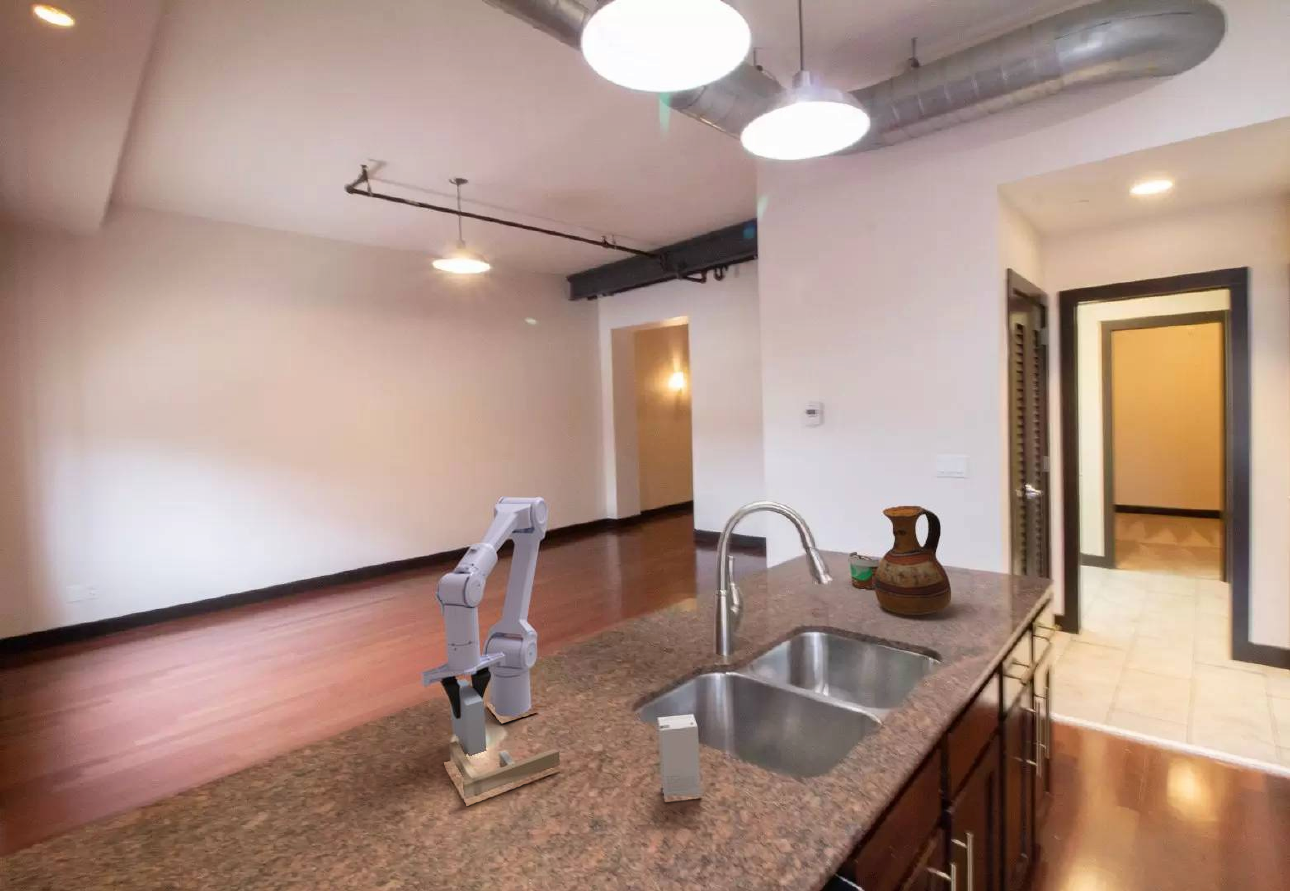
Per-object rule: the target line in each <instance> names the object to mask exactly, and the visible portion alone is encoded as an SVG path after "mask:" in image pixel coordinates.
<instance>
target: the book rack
mask: <svg viewBox="0 0 1290 891" xmlns="http://www.w3.org/2000/svg"><path fill="white" fill-rule="evenodd" d="M448 745H449V757H451V758H452V760H453V762H454V763H455V765H456V767H457V768H458V770H459V772H460V773H461V775H462V777H463V778H464V780H465V781H463V790H464V796H465V798H466V799H468V798H470V797H473V796H478V795H480V794H482V793H484V792H487V791H490V790H492V789H495V788H497V787H501V786H503V785H506V784H508V783H512V782H516V781H518V780H520V779H523V778H526V777H531V776H533V775H535V774H537V773H541V772H543V771H545V770H547V769H550V768H554V767H556V766H558V765H560V750H558V748H553V749H550V750H548V751H545V752H544V753H541V754H538V755H536V756H533V757H530V758H527V759H524V760H522V761H519V762H516V763H515V761H514V760H513V759H512V757H511V756H510V755H509V753H508V752H507V751H506V750H503V751H500V752H499V765H500V767H501V768H499V769H496V770H493V771H491V772H488V773H485V774H482V775H479V776H478V774H477V773H476V771H475V769H474V768H473V766H472V765H471V763H470V762H469V760H468V759H467V757H466V755H465V754H466V753H464V750H463V749H462V748H461V746H460V744H459V743H458V741H457V740H454V741H451V742H449V744H448ZM560 766H561V765H560Z"/></svg>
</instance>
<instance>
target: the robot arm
mask: <svg viewBox="0 0 1290 891" xmlns="http://www.w3.org/2000/svg"><path fill="white" fill-rule="evenodd" d="M548 520H549V510H548V504H547V502H546V501H545V499H544V498H543V497H541V496H537V497H508V496H502V497H500V498H499V499H498V500H497V502H496V504H495V505H494V507H493V520H492V522H491V523H490V525H489V527H488V529H487V531H486V532H485V534H484V536H483V538H482V540H481V541H480V542H476V543H474V544H471V545H470V547H469V548H468V550H467V551H466V553H465V554H464V555H463V557H462V558H461V559H460V561H459V562H458V564H457V565H456V567H455V568H454V569H453V571H452V572H448V573H446V574H444V576H442V577H441V578H440V579H439V581H438V582H437V587H436V592H435V593H434V594H435V599H436V602H437V603H438V604H439V606H440V613H441V615H442V616H443V617H444V629H445V632H444V633H445V644H446V645H445V647H446V648H445V649H446V661H447V662H446V663H443V664H441V665H438V666H437V667H436V666H435V667H433V668H431V669H428V670H425V671H421V673H420V674H421V676H420V677H421V684H422V686H423V687H429V686H431V684H435V683H439V682H440V684H441V686H442V688H443V689H444V691H445V694H446V695H447V697H448V700H449V702H451V705H452V709H453V714H454V716H455V718H456V719H459V718H460V717H461V711H460V703H459V693H460V685H459V684H458V682H457V680H458V679H457V677H461V676H466V677H468V676H470V679H471V686H472V687H473V688H474V690H475V691H476V692H477V693H478V694H479V696H480V697H481V698H482V699H483V700H484V695H485V693H486V690H487V687H488V685H489V695H490V697H489V698H490V703H491V704H492V705H493V707H495V712H496V713H497V714H498V715H500V716H517V715H520V714H523V713H525V712H527V711H528V710H529V709H530V708H531V703H532V701H531V700H532V698H531V696H532V695H531V683H530V682H531V680H530V679H531V678H530V670H531V669H532V667H533V666H534V665H535V663H536V661H537V658H538V657H537V656H538V645H537V644H538V632H537V631H536V630H535V629H534V627H532V625H531V624H529V623H528V617H529V616H528V615H529V610H530V604H531V597H532V592H533V584H534V579H535V573H536V568H537V567H536V566H537V560H538V554H539V548H540V542H541V541H542V540H543V539H544V538H545V536H546V531H547V527H548V526H547V525H548ZM508 538H509V539H510V540H512V542H513V544H514V546H513V554H512V559H511V564H510V565H511V566H510V570H509V576H508V581H507V588H506V592H505V599H504V604H503V609H502V610H503V611H502V615H501V619H500V620H499V621H497V622H496V623H494V624H493V625H491V627H490V628H489V630H488V633H487V634H488V635H487V637H486V639H485V642H484V644H483V646H482V654H481V647H480V646H481V644H480V629H479V628H480V627H479V611H478V605H479V604H480V602H481V601H482V600H483V595H484V589H485V587H486V583H487V581H486V580H487V578H488V577H489V575H490V573H491V572H492V570H493V569H494V567H495V565H497V563H498V554H497V552H498V551H499V549H500V548H501V547H502V545H503V544H504V543H505V542H506V541H507V540H508ZM508 635H509V636H508ZM517 636H521V637H517Z"/></svg>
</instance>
